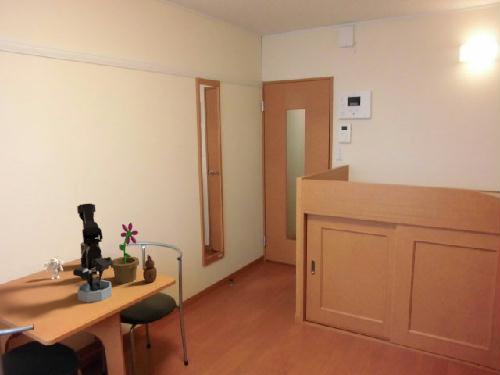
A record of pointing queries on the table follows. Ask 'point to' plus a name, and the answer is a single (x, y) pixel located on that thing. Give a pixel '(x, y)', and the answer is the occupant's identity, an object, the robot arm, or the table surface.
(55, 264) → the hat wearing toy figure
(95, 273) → the battery cell
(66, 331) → the table surface
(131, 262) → the flowerpot
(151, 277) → the wooden figurine
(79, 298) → the ceramic bowl
